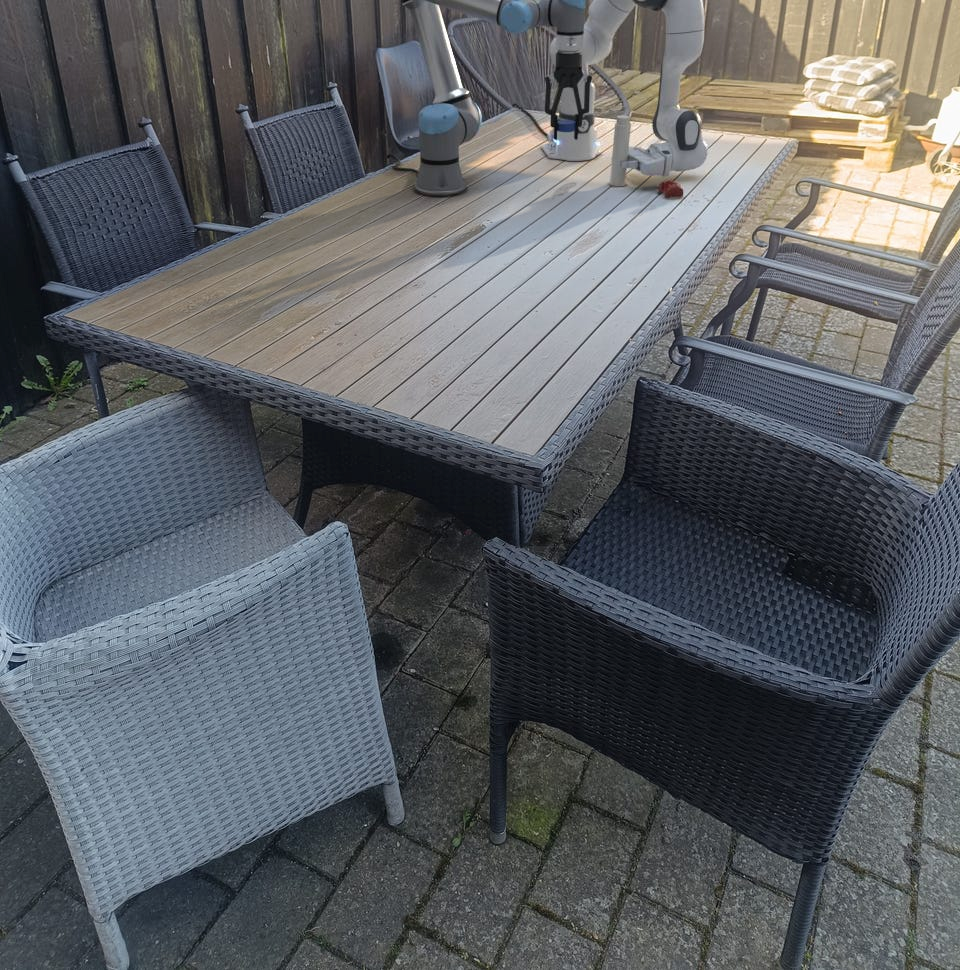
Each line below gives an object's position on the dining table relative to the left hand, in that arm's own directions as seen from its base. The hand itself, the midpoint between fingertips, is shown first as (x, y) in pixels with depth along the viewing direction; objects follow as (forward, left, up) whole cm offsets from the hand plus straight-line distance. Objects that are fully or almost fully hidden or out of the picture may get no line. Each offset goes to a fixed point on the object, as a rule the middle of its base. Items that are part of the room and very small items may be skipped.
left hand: (565, 138), depth 249 cm
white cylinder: (+9, +17, -15) cm, 24 cm away
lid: (0, 0, +4) cm, 4 cm away
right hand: (+9, +16, -9) cm, 20 cm away
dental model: (+28, +17, -15) cm, 36 cm away
